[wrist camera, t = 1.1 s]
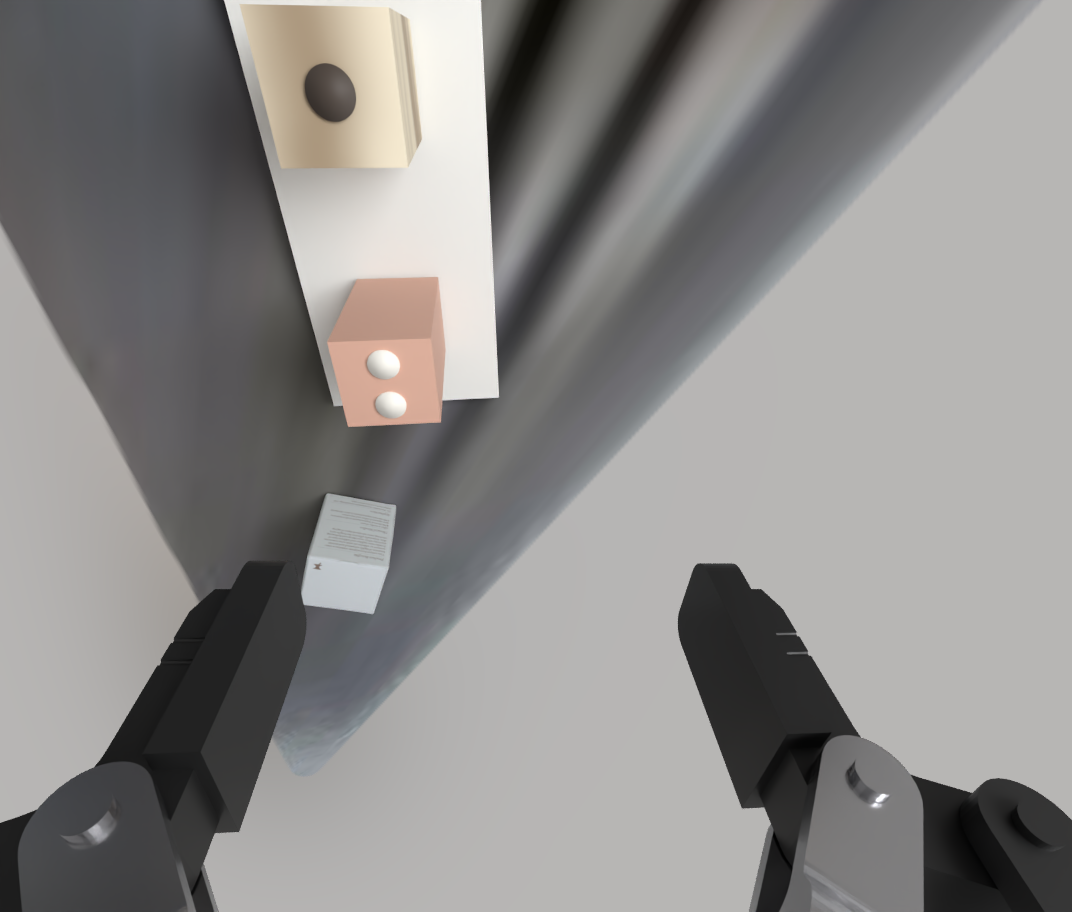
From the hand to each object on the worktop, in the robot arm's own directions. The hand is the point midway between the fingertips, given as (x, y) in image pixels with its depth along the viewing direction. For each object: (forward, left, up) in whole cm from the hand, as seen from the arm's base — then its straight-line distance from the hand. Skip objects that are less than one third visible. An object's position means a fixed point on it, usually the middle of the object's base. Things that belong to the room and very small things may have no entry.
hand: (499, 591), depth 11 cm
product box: (+17, -22, -29) cm, 40 cm away
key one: (-9, -1, -27) cm, 28 cm away
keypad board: (-3, -4, -28) cm, 29 cm away
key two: (+2, -7, -27) cm, 28 cm away
